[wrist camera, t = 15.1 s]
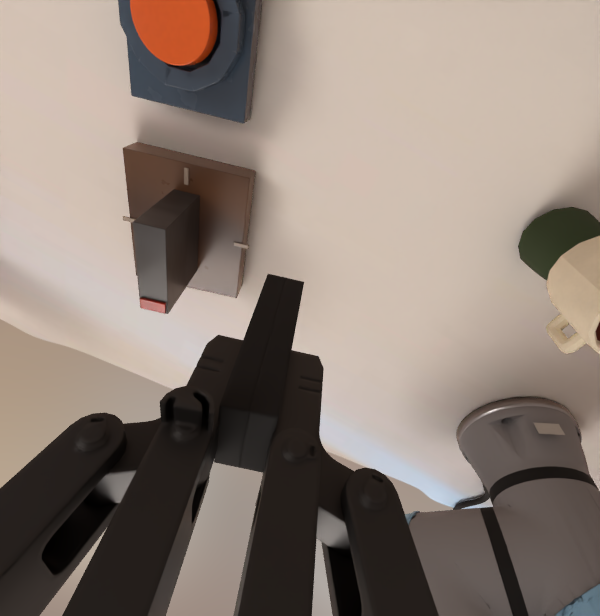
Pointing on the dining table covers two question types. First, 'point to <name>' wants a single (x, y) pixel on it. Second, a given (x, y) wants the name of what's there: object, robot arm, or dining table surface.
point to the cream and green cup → (568, 272)
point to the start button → (176, 28)
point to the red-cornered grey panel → (166, 249)
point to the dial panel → (212, 214)
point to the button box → (202, 65)
